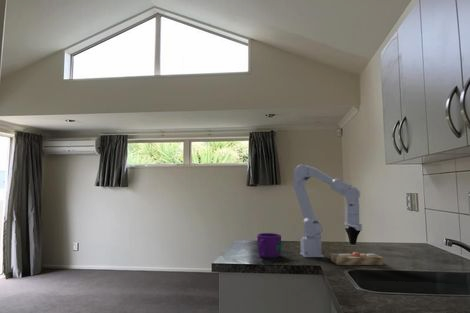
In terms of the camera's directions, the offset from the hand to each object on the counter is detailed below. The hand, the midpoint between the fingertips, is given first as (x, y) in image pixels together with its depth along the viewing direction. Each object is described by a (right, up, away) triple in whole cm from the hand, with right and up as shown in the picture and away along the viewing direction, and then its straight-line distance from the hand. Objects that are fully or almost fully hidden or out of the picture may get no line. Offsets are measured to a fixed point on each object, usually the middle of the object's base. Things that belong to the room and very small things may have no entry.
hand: (352, 244), depth 150 cm
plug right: (+7, -7, -3) cm, 10 cm away
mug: (-38, -8, +6) cm, 40 cm away
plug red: (0, -6, -4) cm, 7 cm away
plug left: (-6, -7, -4) cm, 10 cm away
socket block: (0, -7, -4) cm, 8 cm away
